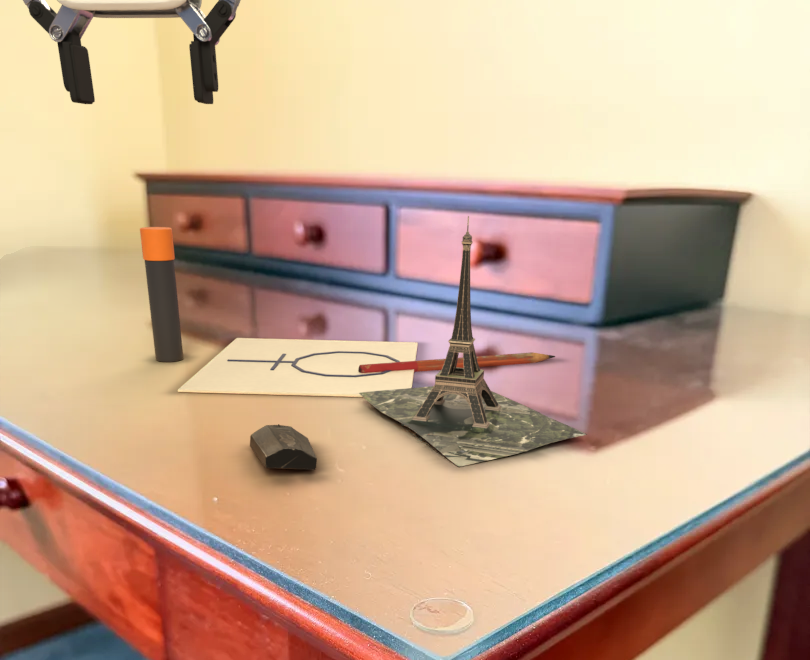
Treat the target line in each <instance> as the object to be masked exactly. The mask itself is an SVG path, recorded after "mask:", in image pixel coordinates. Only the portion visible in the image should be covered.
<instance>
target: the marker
mask: <svg viewBox="0 0 810 660" xmlns="http://www.w3.org/2000/svg"><path fill="white" fill-rule="evenodd" d="M139 235H140V242H141V251H142V252H141V253H142V259H143V261H144V267H145V276H146V277H145V278H146V286H147V295H148V302H149V303H148V304H149V312H150V313H149V314H150V321H151V331H152V339H153V348H154V356H155V357H154V358H155V360H156V361H158V362H161V363H173V362H179V361H182V360H184V350H183V341H182V331H181V330H182V329H181V328H182V327H181V319H180V310H179V300H178V289H177V288H178V287H177V280H176V268H175V259H176V257H175V255H176V254H175V246H174V245H175V244H174V236H173V229H172V227H168V226H143V227H140V228H139Z"/></svg>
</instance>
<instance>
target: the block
mask: <svg viewBox="0 0 810 660" xmlns="http://www.w3.org/2000/svg"><path fill="white" fill-rule="evenodd" d="M249 447H250V449H251V450H252V452H253V453H254V454H255V455H256V457H257V459H258V460H259V461H260V463H261V464H262V465H263V467H264V468H265V469H282V470H286V469H287V470H307V471H308V470H309V471H311V470H312V471H316V468H317V464H318V463H317V462H318V457H317V455H316V453H315V451H314V449H313V446H312V445H311V442H310V440H309V438H308V437H307V436H305V435H304V434H303V433H301V432H300V431H298V430H296V429H295V428H293V426H289V425H283V424H265V425H264V426H262V427H259V428H258V429H257V430H256V431H254V432H253V433H252V434H250V436H249Z"/></svg>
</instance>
